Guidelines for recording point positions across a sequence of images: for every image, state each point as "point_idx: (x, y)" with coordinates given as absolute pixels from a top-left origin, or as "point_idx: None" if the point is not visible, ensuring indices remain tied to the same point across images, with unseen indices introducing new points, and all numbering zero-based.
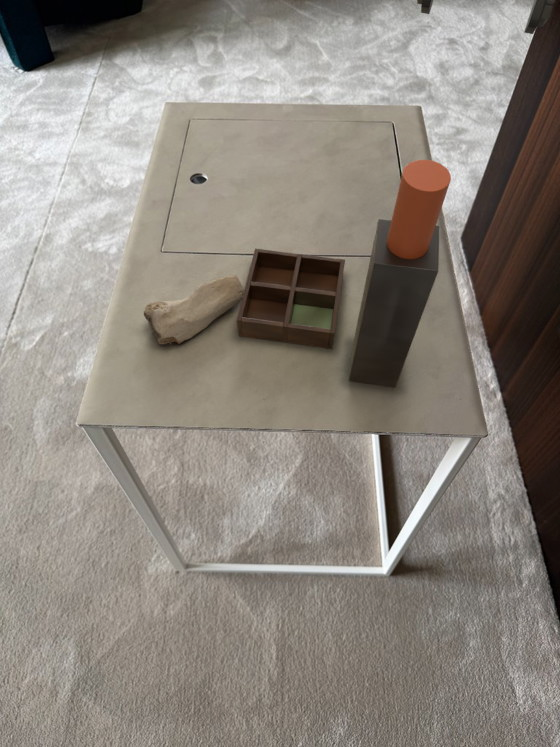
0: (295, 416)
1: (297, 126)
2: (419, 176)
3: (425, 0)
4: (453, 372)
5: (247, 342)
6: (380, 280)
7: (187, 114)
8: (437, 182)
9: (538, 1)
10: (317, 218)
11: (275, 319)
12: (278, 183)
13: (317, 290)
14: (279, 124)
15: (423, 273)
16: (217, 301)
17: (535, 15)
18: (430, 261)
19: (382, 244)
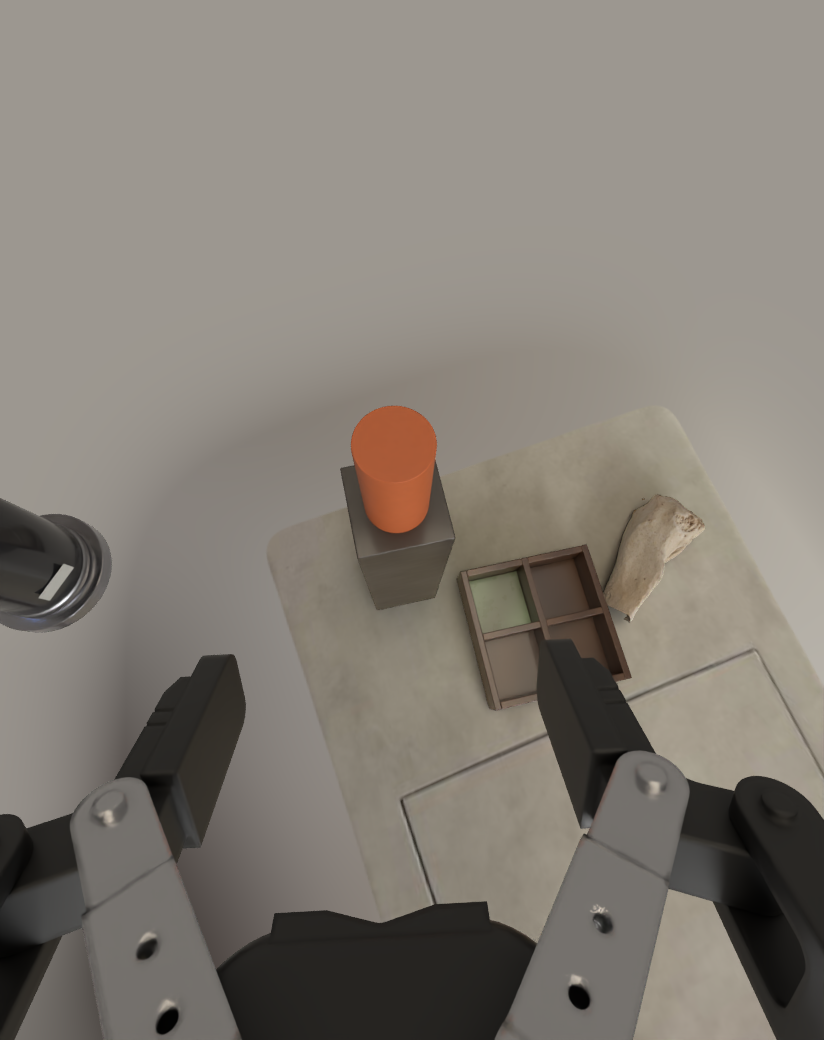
0: (462, 478)
1: None
2: (405, 436)
3: (562, 639)
4: (301, 602)
5: (559, 549)
6: None
7: None
8: (371, 432)
9: (205, 694)
10: (577, 826)
11: (543, 590)
12: (683, 895)
13: (510, 633)
14: None
15: None
16: (626, 564)
17: (213, 662)
18: (355, 480)
19: (432, 488)
